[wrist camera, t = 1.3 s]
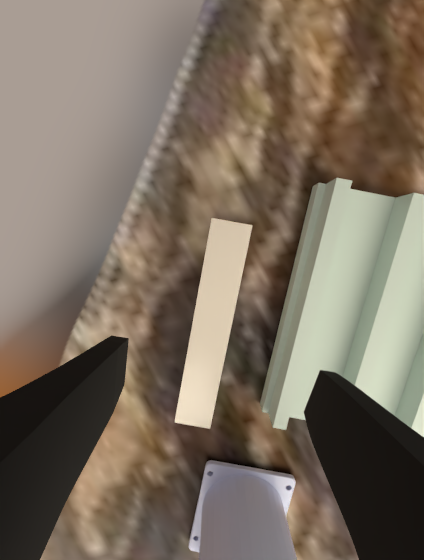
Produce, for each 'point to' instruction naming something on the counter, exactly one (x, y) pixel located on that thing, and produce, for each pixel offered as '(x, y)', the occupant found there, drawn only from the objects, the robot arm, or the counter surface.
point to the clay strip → (212, 321)
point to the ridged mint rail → (353, 304)
